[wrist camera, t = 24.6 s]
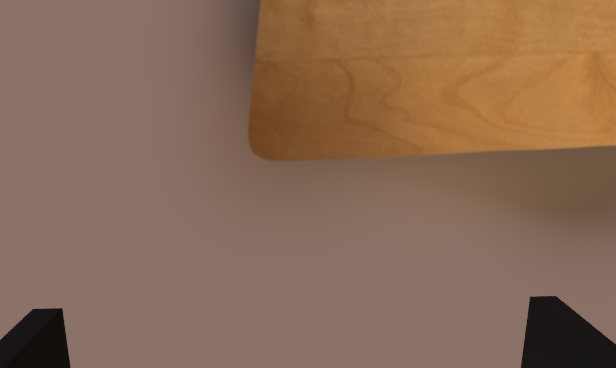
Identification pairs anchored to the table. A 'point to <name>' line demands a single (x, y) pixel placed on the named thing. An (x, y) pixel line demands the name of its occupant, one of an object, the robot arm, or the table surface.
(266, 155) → the table surface
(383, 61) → the table surface
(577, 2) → the table surface
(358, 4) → the table surface
